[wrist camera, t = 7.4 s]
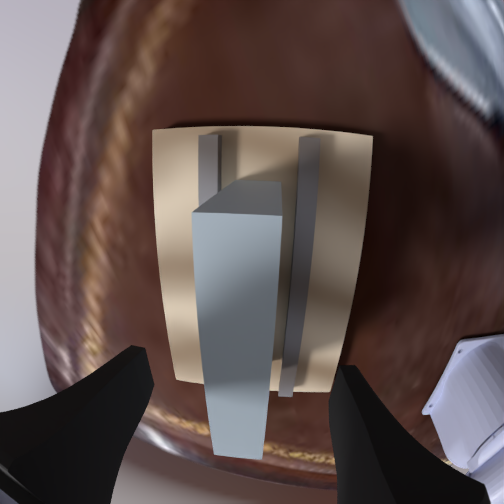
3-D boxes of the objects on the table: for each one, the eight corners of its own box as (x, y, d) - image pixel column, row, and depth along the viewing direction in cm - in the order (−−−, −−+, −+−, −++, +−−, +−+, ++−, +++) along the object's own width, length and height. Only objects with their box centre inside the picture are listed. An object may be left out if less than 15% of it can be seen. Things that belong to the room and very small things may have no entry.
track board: (328, 381, 21) (331, 401, 19) (180, 369, 22) (172, 388, 20) (366, 136, 15) (378, 135, 13) (160, 130, 16) (144, 129, 14)
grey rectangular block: (269, 361, 19) (261, 459, 12) (235, 358, 19) (214, 454, 12) (281, 181, 15) (282, 216, 7) (235, 179, 15) (191, 212, 8)
